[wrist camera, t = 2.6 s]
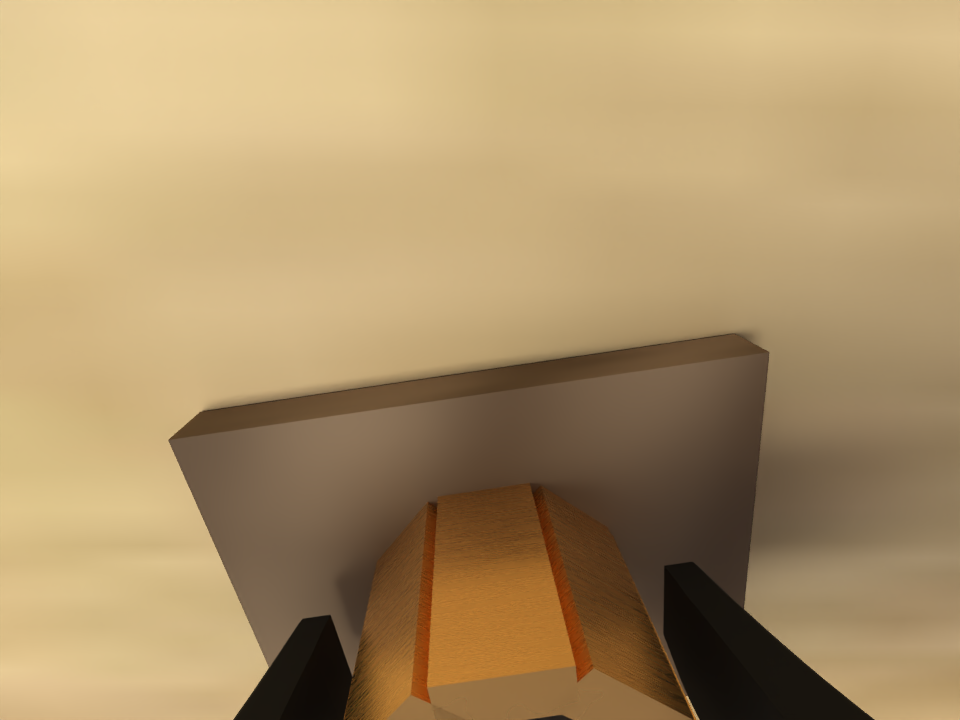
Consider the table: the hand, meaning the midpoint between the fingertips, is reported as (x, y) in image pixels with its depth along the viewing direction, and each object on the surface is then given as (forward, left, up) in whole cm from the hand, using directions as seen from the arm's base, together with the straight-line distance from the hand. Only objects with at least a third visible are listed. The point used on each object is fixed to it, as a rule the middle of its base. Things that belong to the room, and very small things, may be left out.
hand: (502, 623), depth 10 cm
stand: (0, 0, -2) cm, 2 cm away
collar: (0, 0, -1) cm, 1 cm away
